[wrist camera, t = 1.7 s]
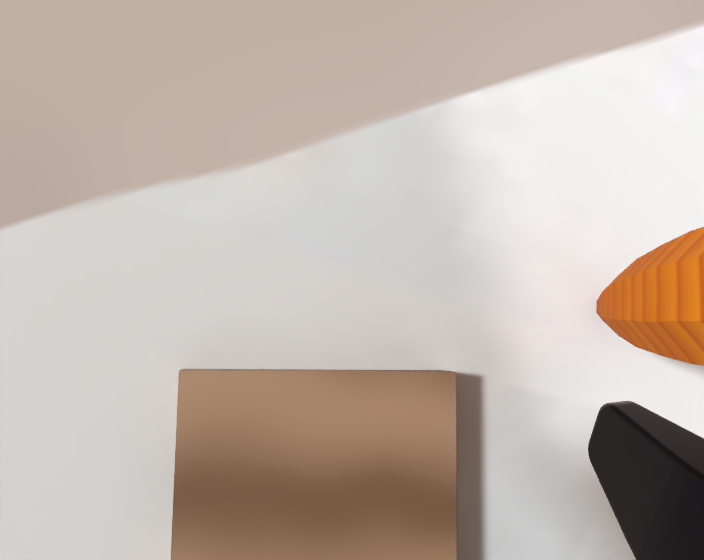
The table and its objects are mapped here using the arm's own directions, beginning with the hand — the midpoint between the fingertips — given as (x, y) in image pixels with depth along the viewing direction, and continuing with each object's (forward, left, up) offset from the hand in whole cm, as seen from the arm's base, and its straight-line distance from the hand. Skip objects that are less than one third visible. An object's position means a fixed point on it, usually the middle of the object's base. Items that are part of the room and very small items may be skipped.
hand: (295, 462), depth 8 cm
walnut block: (-5, -1, -15) cm, 16 cm away
